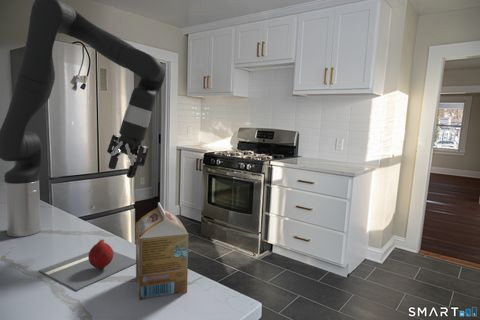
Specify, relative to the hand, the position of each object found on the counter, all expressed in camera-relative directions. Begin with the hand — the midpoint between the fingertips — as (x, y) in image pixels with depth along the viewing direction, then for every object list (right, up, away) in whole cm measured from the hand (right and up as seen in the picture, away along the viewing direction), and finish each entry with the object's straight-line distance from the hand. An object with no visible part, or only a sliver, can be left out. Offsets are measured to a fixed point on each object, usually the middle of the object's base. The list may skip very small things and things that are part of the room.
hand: (120, 173), depth 96 cm
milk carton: (+18, -26, -21) cm, 38 cm away
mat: (-2, -24, -14) cm, 28 cm away
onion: (+1, -24, -16) cm, 29 cm away
